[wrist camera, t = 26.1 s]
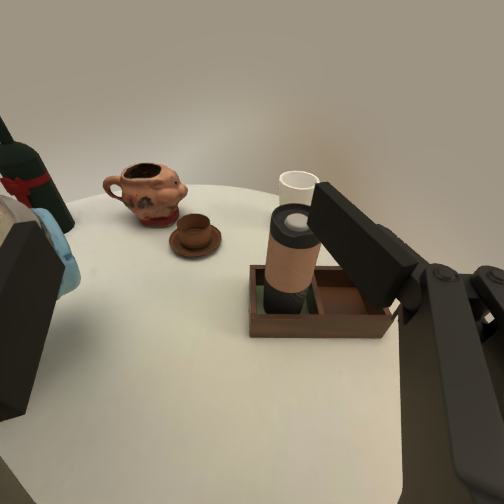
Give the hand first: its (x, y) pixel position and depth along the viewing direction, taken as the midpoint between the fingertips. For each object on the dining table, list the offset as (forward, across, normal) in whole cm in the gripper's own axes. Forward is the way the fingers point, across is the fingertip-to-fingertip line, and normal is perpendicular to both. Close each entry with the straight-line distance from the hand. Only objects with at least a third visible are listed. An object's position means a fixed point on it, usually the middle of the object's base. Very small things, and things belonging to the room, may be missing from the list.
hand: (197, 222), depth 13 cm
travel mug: (+14, +15, -32) cm, 38 cm away
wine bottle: (+52, -30, -33) cm, 69 cm away
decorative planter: (+51, -7, -33) cm, 61 cm away
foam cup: (+38, +28, -33) cm, 58 cm away
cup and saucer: (+37, +3, -33) cm, 50 cm away
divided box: (+13, +20, -33) cm, 40 cm away
